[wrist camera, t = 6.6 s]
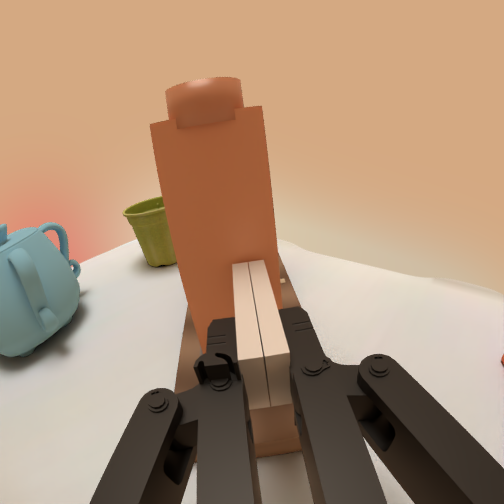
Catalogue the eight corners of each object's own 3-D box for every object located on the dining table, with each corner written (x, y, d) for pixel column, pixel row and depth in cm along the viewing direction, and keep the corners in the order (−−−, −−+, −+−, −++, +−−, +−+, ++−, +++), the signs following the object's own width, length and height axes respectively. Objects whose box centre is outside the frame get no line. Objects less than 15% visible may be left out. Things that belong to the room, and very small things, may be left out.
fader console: (198, 277, 35) (195, 262, 34) (278, 265, 36) (277, 250, 35) (179, 462, 13) (167, 448, 12) (343, 440, 14) (348, 424, 13)
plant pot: (158, 279, 36) (141, 216, 32) (127, 264, 42) (112, 211, 38) (209, 252, 42) (198, 195, 39) (173, 242, 48) (163, 193, 45)
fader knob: (204, 343, 20) (152, 102, 13) (285, 332, 20) (260, 85, 14) (202, 384, 17) (130, 94, 10) (296, 370, 17) (271, 70, 10)
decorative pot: (69, 368, 21) (7, 235, 16) (-25, 371, 18) (-77, 270, 13) (99, 287, 36) (71, 194, 30) (18, 304, 33) (-12, 223, 27)
